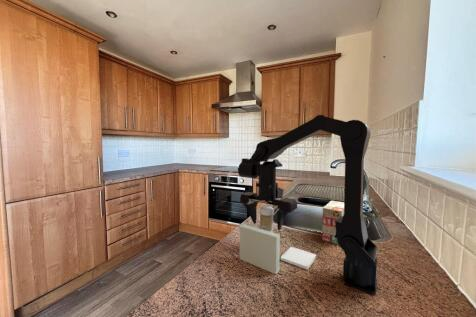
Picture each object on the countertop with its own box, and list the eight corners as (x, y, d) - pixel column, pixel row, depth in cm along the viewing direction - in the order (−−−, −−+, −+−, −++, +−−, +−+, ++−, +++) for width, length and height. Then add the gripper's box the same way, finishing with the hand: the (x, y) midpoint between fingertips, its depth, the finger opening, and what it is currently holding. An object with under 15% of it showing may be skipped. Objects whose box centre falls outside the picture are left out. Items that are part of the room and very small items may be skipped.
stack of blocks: (335, 223, 88) (336, 196, 87) (351, 226, 84) (352, 198, 83) (321, 240, 71) (322, 207, 70) (340, 246, 67) (341, 210, 66)
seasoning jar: (258, 249, 64) (258, 209, 63) (260, 243, 68) (260, 205, 68) (272, 251, 63) (273, 210, 62) (273, 245, 67) (274, 206, 67)
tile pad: (316, 257, 60) (316, 254, 60) (307, 269, 53) (307, 267, 53) (291, 248, 65) (291, 246, 65) (280, 259, 58) (280, 257, 58)
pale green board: (279, 270, 53) (279, 234, 53) (276, 274, 51) (276, 237, 51) (243, 255, 60) (243, 224, 60) (239, 258, 59) (239, 226, 58)
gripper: (303, 179, 65) (302, 225, 66) (255, 175, 77) (255, 214, 77) (290, 184, 56) (289, 237, 57) (238, 178, 68) (238, 222, 68)
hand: (266, 226), depth 65 cm, fingers open, 9 cm apart
